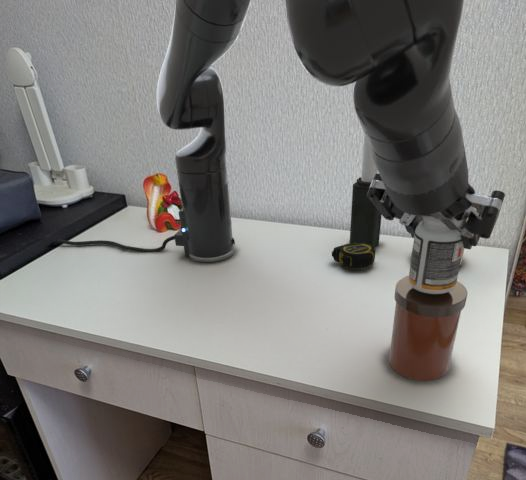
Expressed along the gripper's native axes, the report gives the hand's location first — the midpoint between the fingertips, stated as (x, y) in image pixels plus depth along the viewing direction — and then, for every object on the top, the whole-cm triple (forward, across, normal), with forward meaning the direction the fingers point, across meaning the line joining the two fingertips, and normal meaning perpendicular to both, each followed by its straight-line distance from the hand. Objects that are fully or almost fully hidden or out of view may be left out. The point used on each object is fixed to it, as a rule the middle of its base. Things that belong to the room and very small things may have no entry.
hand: (443, 236), depth 59 cm
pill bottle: (+3, 0, +6) cm, 6 cm away
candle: (+34, +24, -8) cm, 43 cm away
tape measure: (+28, +22, -2) cm, 36 cm away
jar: (+12, 0, +14) cm, 18 cm away
